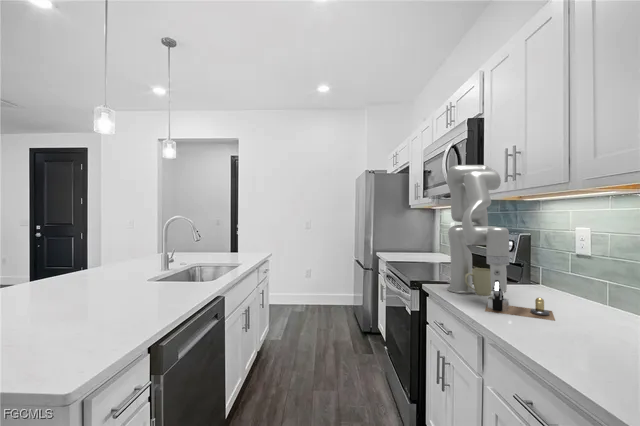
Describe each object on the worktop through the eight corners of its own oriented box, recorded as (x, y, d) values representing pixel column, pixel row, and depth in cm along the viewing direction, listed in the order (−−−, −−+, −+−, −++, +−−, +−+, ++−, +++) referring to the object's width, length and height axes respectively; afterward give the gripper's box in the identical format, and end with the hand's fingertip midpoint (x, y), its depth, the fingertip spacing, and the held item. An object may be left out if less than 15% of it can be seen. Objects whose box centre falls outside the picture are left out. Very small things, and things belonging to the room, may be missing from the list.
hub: (526, 312, 117) (526, 296, 117) (539, 310, 119) (539, 295, 119) (540, 316, 112) (540, 300, 112) (553, 315, 113) (553, 299, 113)
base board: (484, 314, 119) (484, 311, 119) (487, 305, 130) (487, 302, 130) (555, 324, 108) (555, 320, 108) (552, 314, 119) (552, 310, 119)
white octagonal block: (483, 306, 125) (483, 297, 125) (498, 305, 126) (498, 296, 126) (497, 311, 118) (497, 301, 118) (512, 310, 120) (512, 300, 120)
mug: (475, 293, 151) (475, 267, 152) (498, 297, 144) (498, 270, 144) (464, 296, 144) (464, 269, 145) (487, 301, 137) (487, 272, 137)
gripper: (508, 264, 113) (509, 315, 113) (509, 258, 128) (510, 303, 127) (484, 262, 117) (484, 312, 117) (488, 257, 132) (488, 301, 131)
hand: (498, 307), depth 122 cm, fingers closed on white octagonal block, 6 cm apart
